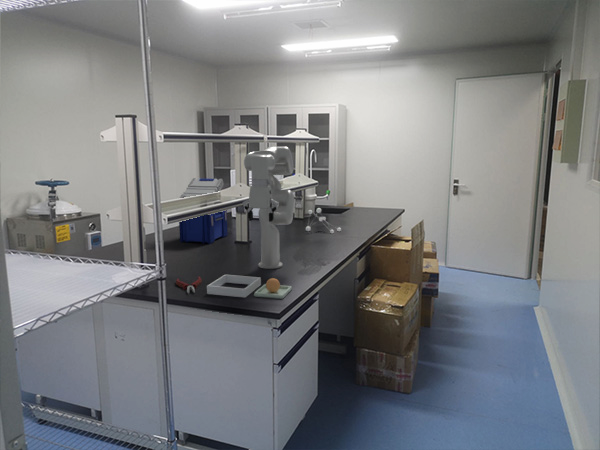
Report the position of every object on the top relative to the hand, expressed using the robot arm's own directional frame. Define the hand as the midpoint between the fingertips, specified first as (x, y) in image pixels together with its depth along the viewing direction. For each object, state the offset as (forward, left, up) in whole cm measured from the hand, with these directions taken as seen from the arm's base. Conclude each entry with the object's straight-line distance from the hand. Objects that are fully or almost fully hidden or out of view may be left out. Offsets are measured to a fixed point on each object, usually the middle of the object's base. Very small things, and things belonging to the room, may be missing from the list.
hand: (260, 220), depth 205 cm
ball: (+15, +11, -25) cm, 31 cm away
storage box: (-76, -71, -29) cm, 108 cm away
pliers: (+18, -29, -29) cm, 45 cm away
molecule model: (-123, 0, -29) cm, 126 cm away
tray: (+15, +11, -28) cm, 34 cm away
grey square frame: (+15, -7, -28) cm, 33 cm away
